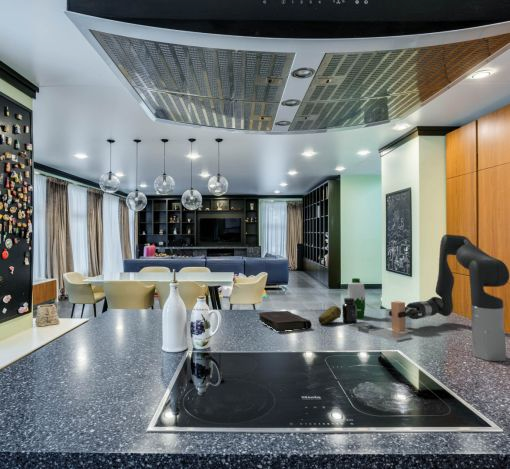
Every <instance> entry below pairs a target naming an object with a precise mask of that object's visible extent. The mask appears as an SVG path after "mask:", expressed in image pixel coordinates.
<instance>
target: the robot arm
mask: <svg viewBox="0 0 510 469" xmlns="http://www.w3.org/2000/svg"><path fill="white" fill-rule="evenodd" d="M439 246H440V247H439V258H438V274H437V282H436V285H435V293H436V295H437V296H432V297H431V298H429V299H428V300H424V301H415V302H414V301H413V302H409V303H408V304H407V305H405V312H398V318H402V317H405V318H410V319H412V320H418V319H419V320H420V319H424V318H428V317H431V316H435V315H437V314H439V315H441V316H443V317H448V316H450V315H451V314H452V313H453V309H454V302H453V301H454V300H453V289H454V285H455V277H454V274H453V271H452V270H451V268H450V265H449V262H448V256H449V255H450V256H455V257H456V260H457V262H458V263H459V264H460V265H461V266H462V267H463V268H464V269H466V270H468V277H469V287H470V288H469V289H470V302H471V303H470V304H471V336H472V338H471V340H472V341H471V342H472V355H473V357H476V358H478V359H481V360H485V361H488V362H489V361H490V362H491V361H492V362H493V361H494V362H495V361H496V362H498V361H499V362H500V361H501V362H502V361H503V362H506V361H507V356H506V355H507V353H506V352H507V351H506V332H505V327H504V326H505V322H504V318H505V317H504V300H503V299H502V298H500V297H497V296H494V295H492V294H489V293H488V292H486V291H485V287H488V288H491V287H493V288H497V287H498V288H499V287H503V286H505V285H507V283H508V282H509V280H510V271H509V268H508V267H507V265H506V263H504V261H502V260H501V259H497V258H496V257H493V256H491V255H489V254H488V253H486V252H485V251H483V250H482V249H481V248H479V247H478V246H476V245H474V244H473V242H472V241H471V240H470V239H469V238H468V237H467V236H464V235H459V234H458V235H457V234H443V236H442V237H441V240H440V244H439ZM438 296H439V297H438ZM388 315H389V317H392V312H391V310H389V311H388Z"/></svg>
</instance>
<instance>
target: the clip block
mask: <svg viewBox="0 0 510 469" xmlns="http://www.w3.org/2000/svg"><path fill="white" fill-rule="evenodd" d="M390 305H391V307H390V308H391V310H390V311H391V312H392V316H391V328H392V329H393V330H397V331H403V330H406V329H407V328H406V317H402V318H398V312H405V307H406V302H405V301H398V300H396V301H391V302H390Z"/></svg>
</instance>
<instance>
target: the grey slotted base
mask: <svg viewBox="0 0 510 469" xmlns="http://www.w3.org/2000/svg"><path fill="white" fill-rule="evenodd" d="M347 325H348V326H347V327H348V329H350V330H354V331H358V332H361V333H364V334H367V335H368V334H369V335H371V336H375V337H379V338H383V339H385V340H390V341H392V342H400V341H406V340H408V339H409V340H410V339H412V334H409V333H401V332H397V331H393V330H389V329H388V328H385V327H380V326H377V325H373V324H369V323H365V322H359V323H358V322H357V323H354V324H347Z"/></svg>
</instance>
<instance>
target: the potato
mask: <svg viewBox="0 0 510 469" xmlns="http://www.w3.org/2000/svg"><path fill="white" fill-rule="evenodd" d="M341 315H342V310H341V308H340V307H338V306H336V305H335V306H330V307H329V308H327V309H326V310H325V311H324V312H323V313H322V314H320V316H318V322H319V324H321V325H327V324H331V323H332V322H334V321H335V320H337V319H338V318H341Z"/></svg>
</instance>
